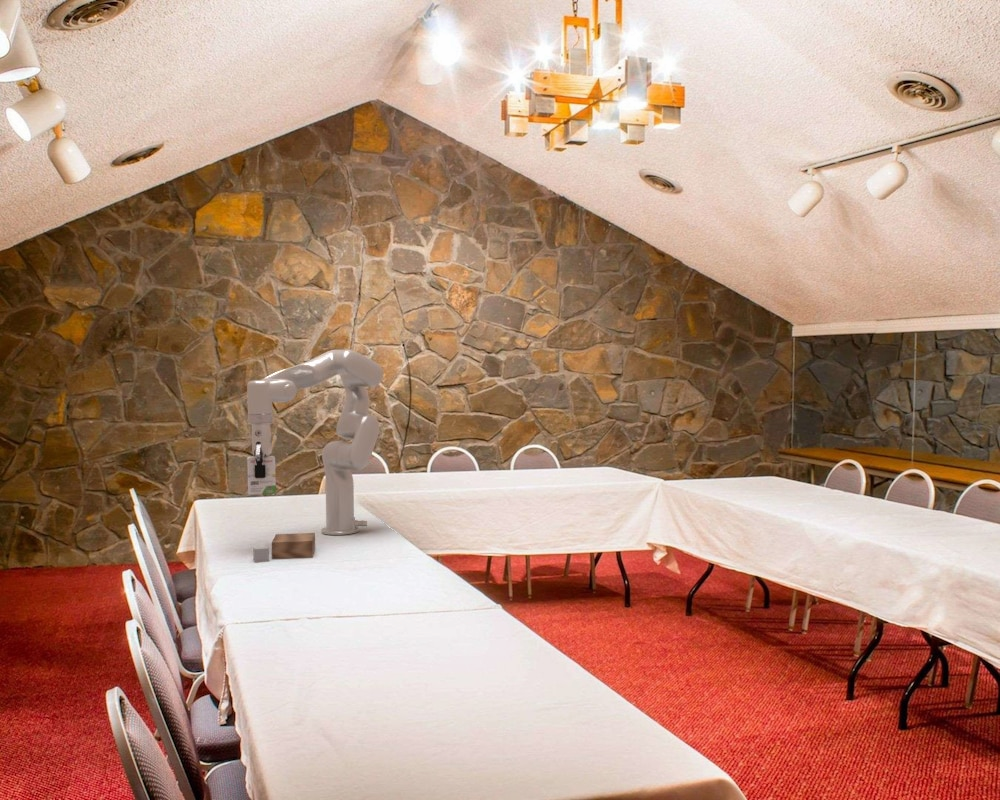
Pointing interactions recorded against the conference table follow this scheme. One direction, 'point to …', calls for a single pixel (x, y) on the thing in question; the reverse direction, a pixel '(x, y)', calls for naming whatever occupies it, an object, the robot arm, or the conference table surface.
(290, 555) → the walnut base block
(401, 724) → the conference table surface
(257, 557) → the slate cube
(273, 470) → the ink box
